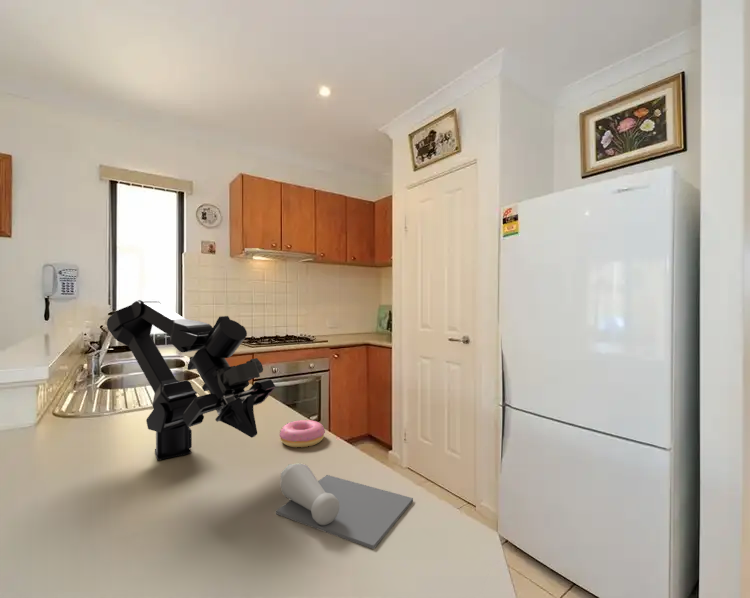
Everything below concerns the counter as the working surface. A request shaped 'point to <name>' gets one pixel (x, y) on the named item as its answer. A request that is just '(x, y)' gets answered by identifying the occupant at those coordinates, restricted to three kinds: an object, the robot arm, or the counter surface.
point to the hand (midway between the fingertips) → (254, 435)
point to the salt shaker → (308, 493)
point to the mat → (354, 511)
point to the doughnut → (302, 433)
